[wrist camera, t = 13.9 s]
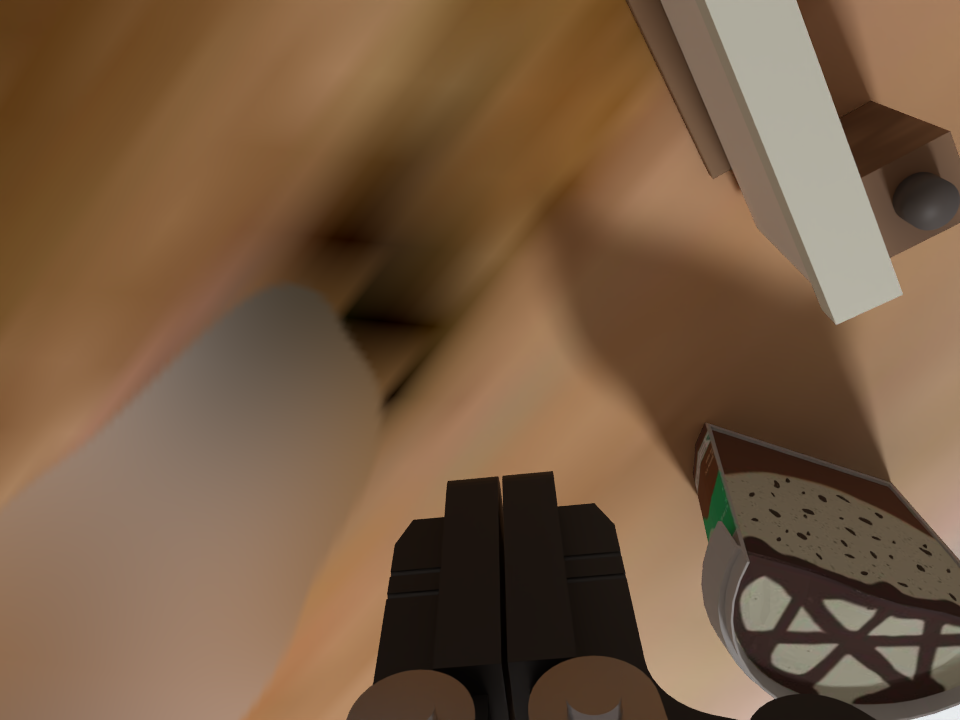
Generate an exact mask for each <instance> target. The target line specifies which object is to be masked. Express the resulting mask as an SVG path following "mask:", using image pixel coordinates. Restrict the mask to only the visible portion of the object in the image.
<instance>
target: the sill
mask: <svg viewBox="0 0 960 720" xmlns="http://www.w3.org/2000/svg"><path fill="white" fill-rule="evenodd" d="M626 1H627V4H628V6H629V8H630V10H631V12H632V14H633V16H634V18H635V20H636V22H637V24H638V27H639V29H640V31H641V33H642V35H643V37H644V39H645V41H646V43H647V45H648V47H649V49H650V52H651V54H652V56H653V58H654V60H655V62H656V64H657V66H658V68H659V70H660V72H661V75H662V77H663V79H664V81H665V83H666V85H667V87H668V89H669V91H670V93H671V95H672V98H673V100H674V102H675V104H676V106H677V108H678V110H679V112H680V114H681V116H682V118H683V121H684V123H685V125H686V127H687V129H688V131H689V133H690V135H691V137H692V139H693V141H694V143H695V146H696V148H697V150H698V152H699V154H700V156H701V158H702V160H703V162H704V164H705V166H706V169H707V171H708V173H709V175H710V176H711V177H712V178H713V179H714V178H716V177H718V176H719V175H721V174H723V173H725V172H727V171H729V170H730V169H732V168H731V165H730V163H729V161H728V158H727V156H726V154H725V151H724V149H723V147H722V144H721V142H720V139H719V137H718V135H717V132H716V130H715V128H714V125H713V123H712V121H711V118H710V116H709V114H708V111H707V109H706V106H705V104H704V102H703V99H702V97H701V95H700V92H699V90H698V88H697V85H696V83H695V81H694V78H693V76H692V74H691V71H690V69H689V66H688V64H687V62H686V59H685V57H684V55H683V52H682V50H681V48H680V45H679V43H678V41H677V38H676V36H675V34H674V31H673V29H672V26H671V24H670V22H669V19H668V17H667V15H666V12H665V10H664V8H663V5H662V3H661V1H660V0H626Z"/></svg>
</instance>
